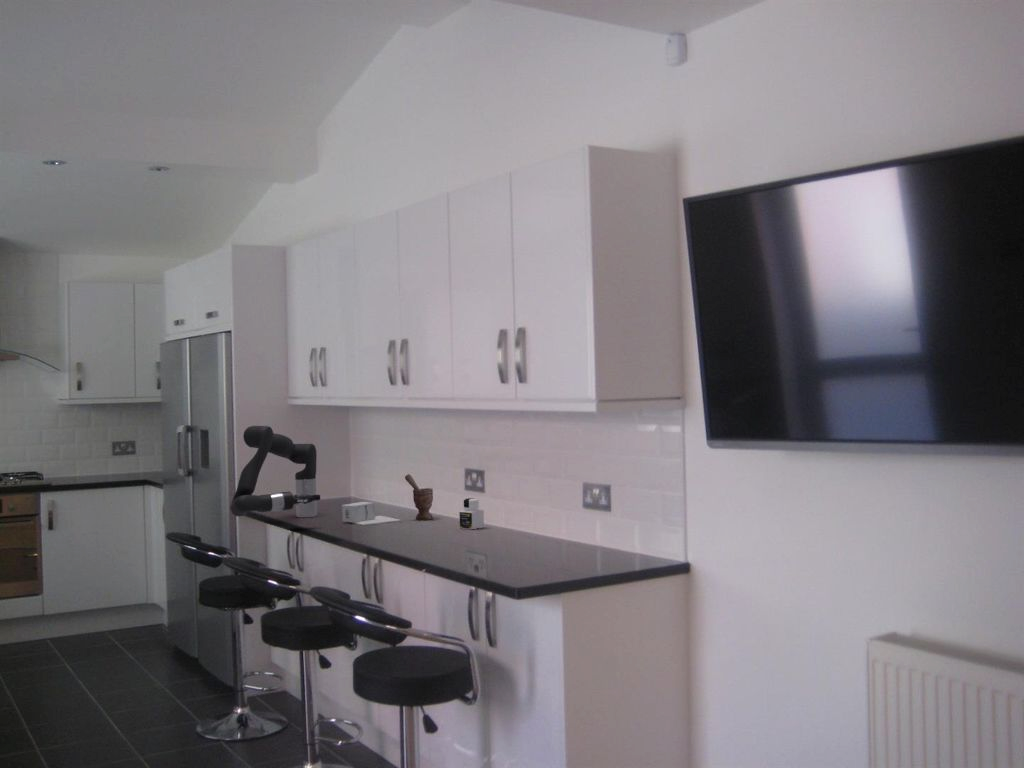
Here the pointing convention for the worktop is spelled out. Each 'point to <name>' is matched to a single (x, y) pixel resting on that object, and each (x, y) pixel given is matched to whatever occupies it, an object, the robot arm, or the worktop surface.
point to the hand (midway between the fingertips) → (319, 497)
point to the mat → (377, 521)
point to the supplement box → (358, 512)
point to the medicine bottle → (471, 515)
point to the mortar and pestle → (421, 499)
